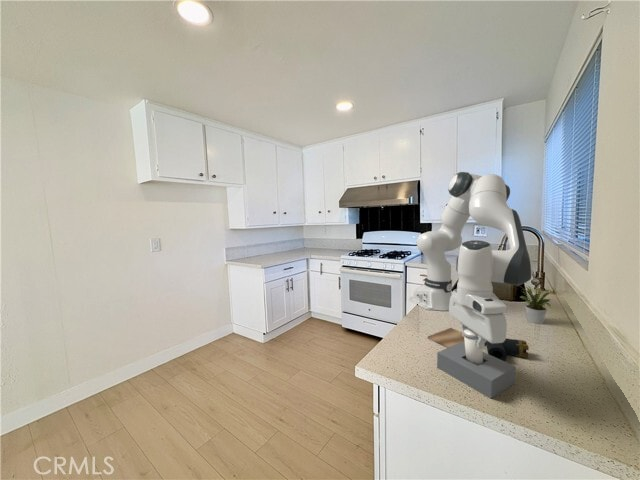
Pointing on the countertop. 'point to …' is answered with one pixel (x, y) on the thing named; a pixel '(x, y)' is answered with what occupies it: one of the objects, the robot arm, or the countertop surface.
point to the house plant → (536, 306)
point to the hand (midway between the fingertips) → (472, 342)
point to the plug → (472, 347)
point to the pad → (448, 337)
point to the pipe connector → (508, 348)
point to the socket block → (477, 370)
